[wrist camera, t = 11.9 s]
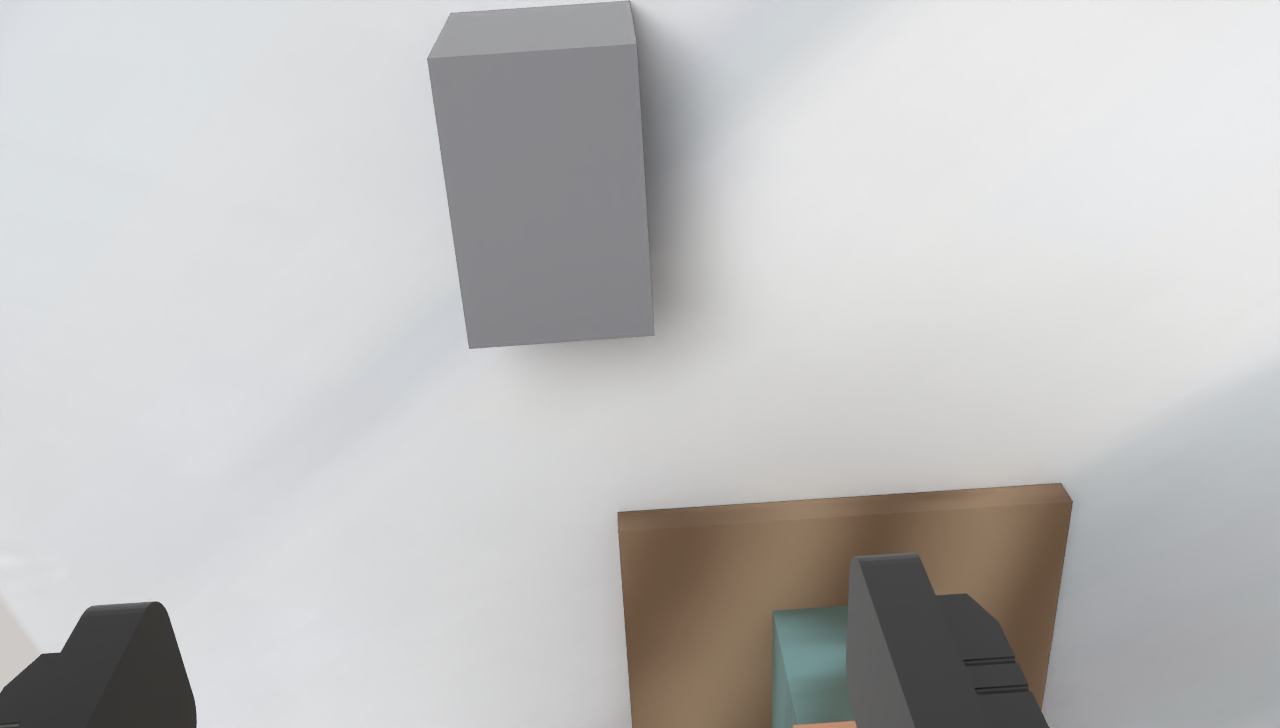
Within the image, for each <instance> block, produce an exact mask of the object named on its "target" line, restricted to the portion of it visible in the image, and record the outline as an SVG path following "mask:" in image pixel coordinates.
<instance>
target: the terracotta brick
mask: <svg viewBox="0 0 1280 728" xmlns="http://www.w3.org/2000/svg"><path fill="white" fill-rule="evenodd" d="M793 728H857V727H856V723H855V721H845V722H831V723H817V724H803V725H793Z"/></svg>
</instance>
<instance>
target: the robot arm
mask: <svg viewBox="0 0 1280 728" xmlns="http://www.w3.org/2000/svg"><path fill="white" fill-rule="evenodd" d="M846 673H847V684H848V692H849V698H850V703H851V708H852V712H853V716H854V719H855V723H856V727H857V728H1049V727H1048V724H1047V722H1046V720H1045V718H1044V716H1043V714H1042V712H1041V710H1040V708H1039V706H1038V703H1037V701H1036V699H1035V697H1034V695H1033V693H1032V691H1031V692H1030V691H1029V688H1028V682H1027V680H1026V678H1025V676H1024V674H1023V672H1022V670H1021V668H1020V666H1019V663H1016V661H1015V655H1014V653H1013V651H1012V649H1011V647H1010V645H1009V642H1008V640H1007V638H1006V636H1005V634H1004V632H1003V630H1002V628H1001V626H1000V623H999V622H998V621H997V620H996V619H995V618H994V617H993V616H992V615H990V614H989V613H988V612H987V611H986V610H985V609H984V608H983V607H981V606H980V605H979V604H978V603H977V602H976V601H975V600H974V599H973V598H971V597H970V596H969V595H968V594H967V593H963V594H948V595H935V592H934V590H933V588H932V585H931V583H930V580H929V578H928V575H927V573H926V571H925V568H924V566H923V563H922V561H921V559H920V557H919V556H918V554H917V553H899V554H884V555H869V556H854V557H853V558H852V560H851V564H850V573H849V596H848V619H847V642H846ZM196 724H197V719H196V706H195V700H194V697H193V693H192V690H191V687H190V683H189V680H188V677H187V674H186V670H185V667H184V664H183V661H182V657H181V654H180V651H179V648H178V644H177V641H176V638H175V635H174V631H173V628H172V625H171V622H170V618H169V616H168V613H167V611H166V609H165V607H164V606H163V605H162V604H161V603H159V602H141V603H127V604H112V605H97V606H91V607H89V608H88V609H87V610H86V611H85V612H84V613H83V615H82V616H81V618H80V620H79V621H78V623H77V625H76V627H75V628H74V630H73V632H72V633H71V635H70V637H69V639H68V640H67V642H66V644H65V646H64V647H63V649H62V651H61V653H48V654H41V655H40V656H39V657H38V658H37V659H36V660H35V661H34V662H32V664H30V665H29V666H28V667H27V668H26V669H25V670H23V671H22V672H21V673H20V674H19V675H18V676H16V677H15V678H14V679H13V680H12V681H11V682H10V683H9V684H8V685H6V686H5V687H4V688H3V690H2V691H1V693H0V728H196Z"/></svg>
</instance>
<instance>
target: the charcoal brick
mask: <svg viewBox="0 0 1280 728" xmlns="http://www.w3.org/2000/svg"><path fill="white" fill-rule="evenodd" d="M427 60H428V67H429V74H430V81H431V88H432V95H433V102H434V108H435V115H436V122H437V129H438V136H439V143H440V150H441V157H442V164H443V171H444V178H445V185H446V192H447V199H448V206H449V212H450V219H451V226H452V233H453V240H454V247H455V254H456V261H457V268H458V275H459V282H460V289H461V296H462V303H463V309H464V316H465V323H466V330H467V337H468V344H469V349H473V348H487V347H501V346H515V345H529V344H543V343H557V342H571V341H584V340H598V339H612V338H626V337H640V336H654V320H653V303H652V287H651V270H650V253H649V237H648V220H647V204H646V187H645V171H644V154H643V137H642V121H641V104H640V88H639V71H638V55H637V42H636V36H635V30H634V24H633V19H632V13H631V7H630V1H617V2H603V3H589V4H574V5H560V6H545V7H531V8H517V9H502V10H488V11H474V12H459V13H451V14H450V15H449V17H448V19H447V21H446V23H445V25H444V27H443V29H442V31H441V33H440V35H439V37H438V39H437V41H436V43H435V44H434V46H433V48H432V50H431V52H430V54H429V56H428V58H427Z"/></svg>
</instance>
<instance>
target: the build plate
mask: <svg viewBox="0 0 1280 728" xmlns="http://www.w3.org/2000/svg"><path fill="white" fill-rule="evenodd" d="M1072 503H1073V501H1072V500H1071V498H1070V496H1069V495H1068V493H1067V492H1066V490H1065V489H1064V487H1063V486H1062V484H1061V483H1059V484H1043V485H1028V486H1013V487H997V488H982V489H967V490H952V491H936V492H921V493H906V494H890V495H875V496H860V497H844V498H829V499H814V500H799V501H783V502H768V503H753V504H737V505H722V506H707V507H691V508H676V509H661V510H646V511H630V512H618V533H619V547H620V561H621V575H622V589H623V603H624V617H625V631H626V645H627V659H628V673H629V687H630V701H631V715H632V728H793V725H803V724H817V723H831V722H845V721H855V719H854V716H853V712H852V708H851V703H850V698H849V692H848V684H847V673H846V642H847V619H848V596H849V573H850V564H851V560H852V558H853V557H854V556H869V555H884V554H899V553H917V554H918V556H919V557H920V559H921V561H922V563H923V566H924V568H925V571H926V573H927V575H928V578H929V580H930V583H931V585H932V588H933V590H934V592H935V595H948V594H963V593H967V594H968V595H969V596H970V597H971V598H973V599H974V600H975V601H976V602H977V603H978V604H979V605H980V606H981V607H983V608H984V609H985V610H986V611H987V612H988V613H989V614H990V615H992V616H993V617H994V618H995V619H996V620H997V621H998V622H999V623H1000V626H1001V628H1002V630H1003V632H1004V634H1005V636H1006V638H1007V640H1008V642H1009V645H1010V647H1011V649H1012V651H1013V653H1014V655H1015V661H1016V663H1019V666H1020V668H1021V670H1022V672H1023V674H1024V676H1025V678H1026V680H1027V682H1028V688H1029V691H1030V692H1031V691H1032V693H1033V695H1034V697H1035V699H1036V701H1037V703H1038V706H1039V708H1040V710H1041V709H1042V703H1043V696H1044V689H1045V683H1046V676H1047V669H1048V663H1049V656H1050V649H1051V643H1052V636H1053V630H1054V623H1055V616H1056V610H1057V603H1058V596H1059V590H1060V583H1061V576H1062V570H1063V563H1064V556H1065V550H1066V543H1067V536H1068V530H1069V523H1070V516H1071V510H1072Z"/></svg>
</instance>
